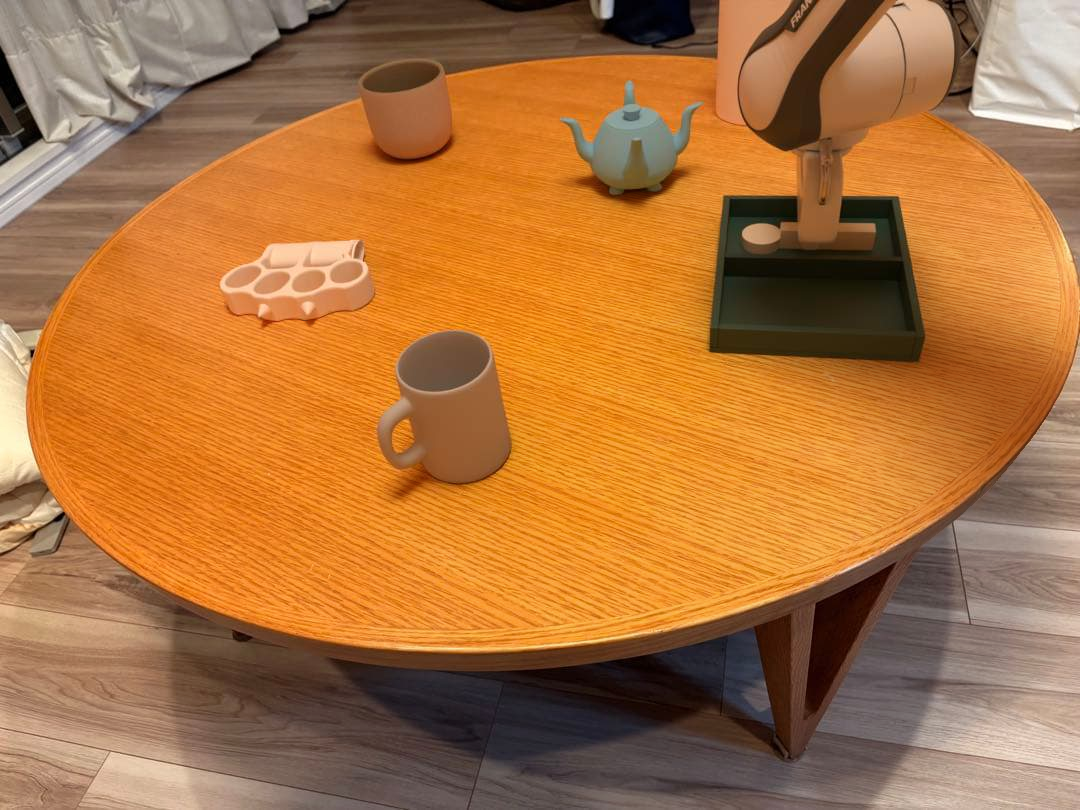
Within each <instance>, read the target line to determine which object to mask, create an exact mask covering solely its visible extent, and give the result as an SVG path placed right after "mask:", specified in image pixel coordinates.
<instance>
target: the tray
mask: <svg viewBox="0 0 1080 810" xmlns="http://www.w3.org/2000/svg"><path fill="white" fill-rule="evenodd" d="M781 222H798V210H797V195H750V194H749V195H748V194H747V195H746V194H745V195H743V194H741V195H737V194H731V195H729V194H726V195H725V194H724V195H723V196H722V206H721V217H720V225H719V226H720V227H719V235H718V236H719V237H718V246H717V254H716V255H717V256H716V266H715V276H714V286H713V296H712V307H711V315H710V326H709V345H708V346H709V347H708V348H709V349H708V351H709V353H724V354H726V353H727V354H745V355H765V356H768V355H770V356H787V357H788V356H790V357H808V358H831V359H850V360H851V359H853V360H868V361H869V360H871V361H891V362H892V361H893V362H911V363H912V362H914V363H920V359H921V356H922V351H923V348H924V344H925V340H926V332H925V326H924V321H923V315H922V310H921V306H920V300H919V296H918V291H917V285H916V281H915V273H914V270H913V269H914V268H913V264H912V259H911V254H910V249H909V243H908V238H907V234H906V227H905V222H904V216H903V212H902V206H901V201H900V197H899V195H842V201H841V209H840V217H839V223H875V228H876V235H875V240H874V245H873V250H826V249H816V250H804V249H780V248H779V249H778V250H777V251H775V252H773V253H769V254H753V253H750V252H748V251H746V250H745V249H743V247H742V245H741V240H742V232H743V230H744V229H745V228H746V227H748V226H750V225H753V224H759V223H764V224H770V225H774V226H776V227H777V228H779V229H780V226H781Z"/></svg>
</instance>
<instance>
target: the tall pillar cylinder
mask: <svg viewBox="0 0 1080 810" xmlns="http://www.w3.org/2000/svg"><path fill="white" fill-rule="evenodd" d="M790 3H791V0H719V4H718V5H719V7H718V31H717V34H718V35H717V61H716V83H715V84H716V87H715V88H716V89H715V115H716V116H717V117H718V118H719V119H720V120H721V121H724V122H726V123H728V124H732V125H737V126H746V127H748V126H747V125H746V123H745V122H744V120H743V118H742V115H741V112H740V108H739V103H738V94H737V86H738V77H739V72H740V68H741V65H742V63H743V61H744V58H745V56H746V55H747V53H748V51H749V49H750V47H751V46H752V44H753V43H754V41H755V40H756V39H757V37H758V36H759V35H760V33H761V32H762V31H763V30H764V29H765V28H767V27H768V26H770V25H771V24H773V23H774V22H776V21H777V20H778V19H779V18H780V17H781V16H782V15H783V13H784V12H785V11H786V9H787V8H788V7H789V5H790Z"/></svg>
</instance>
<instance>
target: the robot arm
mask: <svg viewBox="0 0 1080 810" xmlns="http://www.w3.org/2000/svg"><path fill="white" fill-rule="evenodd" d="M962 47H963V43H962V34H961V31H960V27H959V26H958V23H957V21H956V19H955V18H954V17H953V16H952V14H951V13H950V12H949V10H947V9H946V8H945V7H944V6H943V5H942V4H940V3H938V2H937V1H935V0H791V3H790V5H789V7H788V8H787V9H786V11H785V12H784V13H783V15H782V16H781V17H780V18H779V19H778V20H777V21H776V22H774V23H773V24H771V25H770V26H768V27H767V28H765V29H764V30H763V31H762V32H761V33H760V35H759V36H758V37H757V39H756V40H755V41H754V43H753V44H752V46H751V47H750V49H749V51H748V53H747V55H746V56H745V58H744V61H743V63H742V65H741V68H740V72H739V77H738V86H737V94H738V103H739V108H740V112H741V115H742V118H743V120H744V122H745V123H746V125H747V126H746V127H747V128H748V129H749V130H750V131H751V132H752V133H753V134H754V135H756V136H757V137H758V138H759V139H761V140H762V141H764V142H765V143H767V144H769V145H770V146H772V147H774V148H776V149H778V150H780V151H782V152H791V153H792V154H793V155H794V156H795V159H796V196H797V210H798V239H799V242H800V243H802V248H803V249H804V250H816V249H818V247H819V244H832V243H833V242H834V241H835V239H836V236H837V231H838V224H839V217H840V209H841V201H842V196H843V192H844V163H843V157H845V156H847V155H848V154H850V153H851V152H852V151H853V147H854V146H856V145H858V144H860V143H862V142H863V141H864V140H865V139H866V138H867V136H868V135H869V131H870V128H874V127H878V126H881V125H883V124H884V125H885V124H888V123H892V122H897V121H901V120H905V119H909V118H912V117H916V116H919V115H921V114H924V113H927V112H931V111H933V110H935V109H937V108H938V107H939V106H940V105H941V104H942V103H943V102H944V100H946V98H947V97H948V95H949V94H950V92H951V91H952V89H953V86H954V84H955V82H956V80H957V77H958V73H959V70H960V67H961V60H962V53H963V52H962V50H963V49H962Z"/></svg>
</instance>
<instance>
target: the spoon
mask: <svg viewBox="0 0 1080 810" xmlns="http://www.w3.org/2000/svg"><path fill="white" fill-rule="evenodd" d="M875 235H876V228H875V223H839V224H838V231H837V236H836V239H835V241H834V242H833V243H832V244H819V247H818V249H826V250H873V245H874V240H875ZM741 245H742V247H743V249H745V250H746V251H748V252H750V253H753V254H769V253H773V252H775V251H777V250H778V249H779V248H780V249H803V248H802V243H800V242H799V239H798V222H781V226H780V229H779V228H777V227H776V226H774V225H770V224H764V223H759V224H753V225H750V226H748V227H746V228H745V229H744V230H743V232H742V240H741Z"/></svg>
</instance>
